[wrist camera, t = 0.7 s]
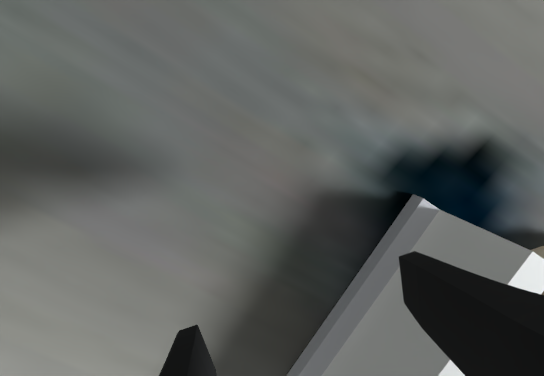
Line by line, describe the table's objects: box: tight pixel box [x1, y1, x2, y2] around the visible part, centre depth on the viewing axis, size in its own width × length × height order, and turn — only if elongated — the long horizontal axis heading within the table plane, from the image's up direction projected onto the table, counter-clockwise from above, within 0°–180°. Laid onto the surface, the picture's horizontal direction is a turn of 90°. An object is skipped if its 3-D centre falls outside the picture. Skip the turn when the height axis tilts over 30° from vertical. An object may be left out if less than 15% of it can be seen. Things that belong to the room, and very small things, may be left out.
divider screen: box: [286, 194, 544, 376], centre depth 20 cm, size 16×5×8 cm, turn 147°
